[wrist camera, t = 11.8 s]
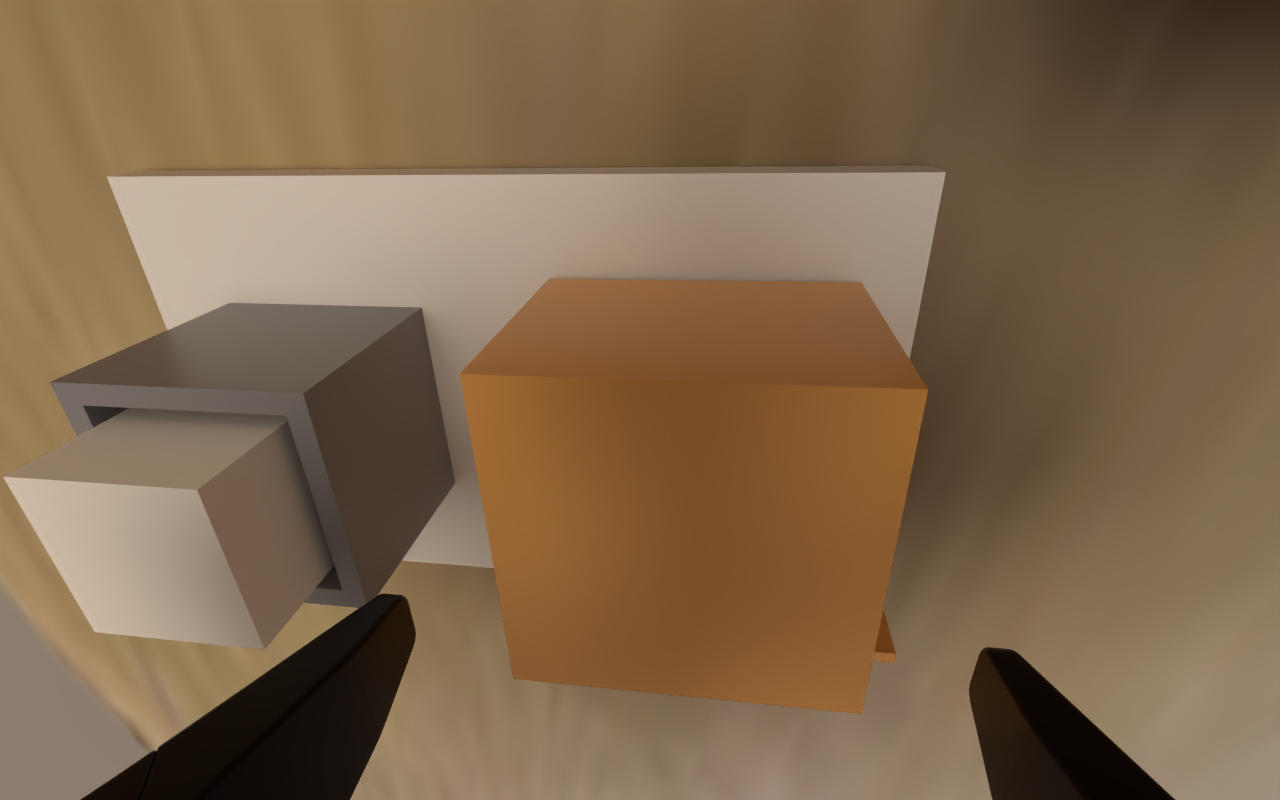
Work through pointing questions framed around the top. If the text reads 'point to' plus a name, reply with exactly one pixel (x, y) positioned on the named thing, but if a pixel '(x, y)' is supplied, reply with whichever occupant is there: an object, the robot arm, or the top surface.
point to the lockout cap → (695, 485)
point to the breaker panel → (449, 307)
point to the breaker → (180, 524)
